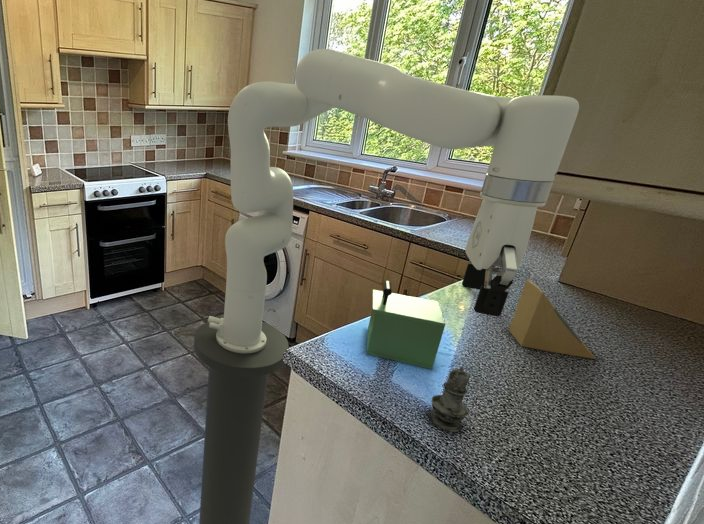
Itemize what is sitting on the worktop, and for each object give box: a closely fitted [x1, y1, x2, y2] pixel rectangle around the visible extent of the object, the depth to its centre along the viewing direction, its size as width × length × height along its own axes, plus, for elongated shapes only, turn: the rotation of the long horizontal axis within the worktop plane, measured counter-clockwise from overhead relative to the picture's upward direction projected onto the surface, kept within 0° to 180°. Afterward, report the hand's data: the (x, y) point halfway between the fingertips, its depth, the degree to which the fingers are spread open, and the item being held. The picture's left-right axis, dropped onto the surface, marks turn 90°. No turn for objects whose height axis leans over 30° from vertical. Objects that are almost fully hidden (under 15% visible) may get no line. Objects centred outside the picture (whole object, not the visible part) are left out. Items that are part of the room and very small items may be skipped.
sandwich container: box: [508, 279, 597, 360], centre depth 100 cm, size 9×15×15 cm, turn 72°
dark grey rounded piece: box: [428, 366, 470, 433], centre depth 73 cm, size 6×6×12 cm
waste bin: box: [366, 311, 445, 370], centre depth 96 cm, size 14×12×11 cm
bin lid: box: [371, 280, 446, 328], centre depth 93 cm, size 14×12×5 cm
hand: (479, 299), depth 63 cm, fingers open, 9 cm apart
